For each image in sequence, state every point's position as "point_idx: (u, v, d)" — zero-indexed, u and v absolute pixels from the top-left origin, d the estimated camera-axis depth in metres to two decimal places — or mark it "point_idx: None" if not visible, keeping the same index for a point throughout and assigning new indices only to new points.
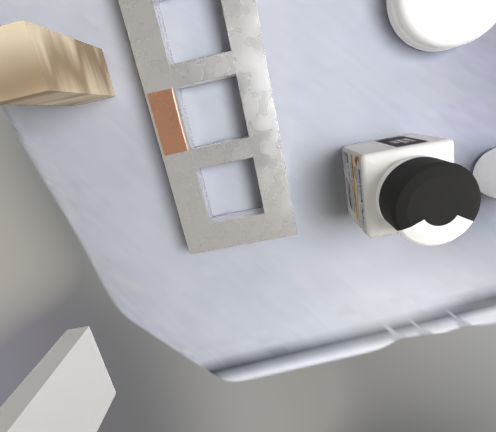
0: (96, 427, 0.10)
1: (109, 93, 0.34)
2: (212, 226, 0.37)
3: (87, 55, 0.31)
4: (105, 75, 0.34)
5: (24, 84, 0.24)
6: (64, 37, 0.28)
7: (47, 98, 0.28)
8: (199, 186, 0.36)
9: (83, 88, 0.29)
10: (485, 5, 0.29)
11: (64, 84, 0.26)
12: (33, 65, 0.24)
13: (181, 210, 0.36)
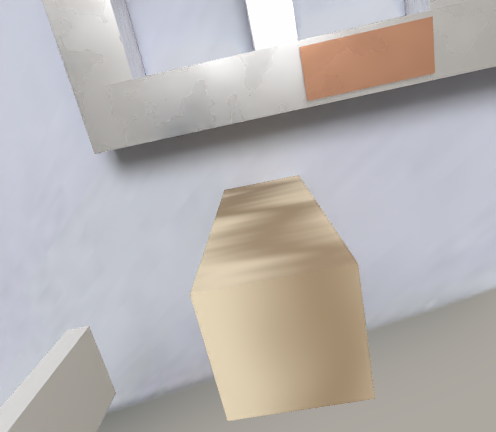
0: (95, 428, 0.10)
1: (298, 180, 0.19)
2: None
3: (239, 203, 0.17)
4: (267, 185, 0.19)
5: (338, 318, 0.09)
6: (214, 229, 0.14)
7: None
8: None
9: (309, 207, 0.14)
10: None
11: (318, 234, 0.11)
12: (294, 289, 0.09)
13: None
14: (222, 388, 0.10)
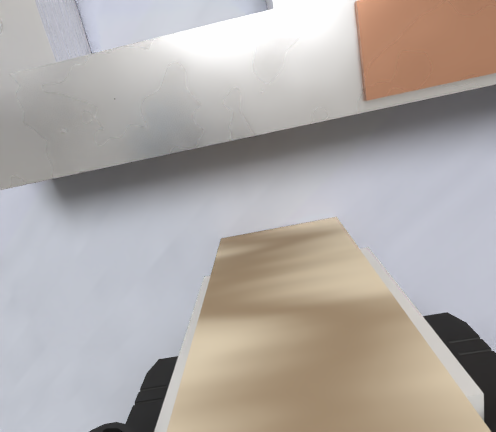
0: None
1: (339, 231, 0.12)
2: None
3: (244, 279, 0.10)
4: (288, 236, 0.12)
5: None
6: (192, 365, 0.07)
7: None
8: None
9: (388, 321, 0.07)
10: None
11: None
12: None
13: None
14: None
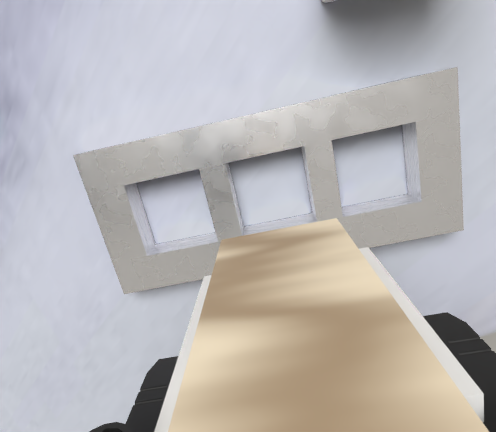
0: None
1: (340, 232, 0.12)
2: (426, 197, 0.26)
3: (244, 280, 0.10)
4: (288, 237, 0.12)
5: None
6: (192, 367, 0.07)
7: None
8: (366, 213, 0.27)
9: (388, 323, 0.07)
10: None
11: None
12: None
13: (397, 237, 0.27)
14: None
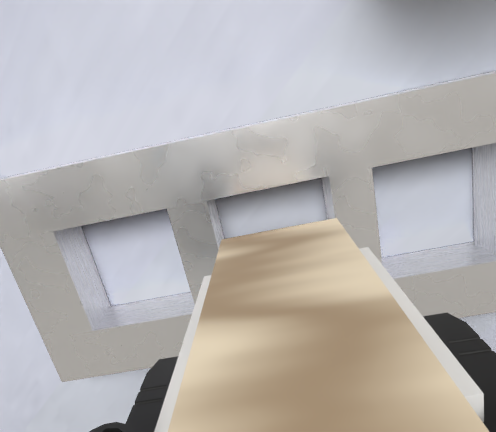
0: None
1: (340, 232, 0.12)
2: None
3: (244, 280, 0.10)
4: (288, 237, 0.12)
5: None
6: (192, 367, 0.07)
7: None
8: (419, 275, 0.18)
9: (388, 323, 0.07)
10: None
11: None
12: None
13: (463, 310, 0.18)
14: None
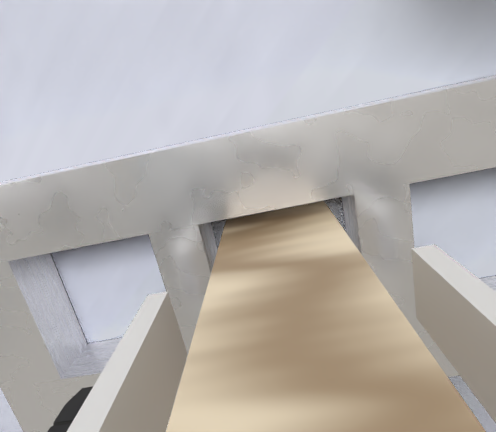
0: (177, 381, 0.12)
1: (325, 211, 0.14)
2: None
3: (246, 246, 0.12)
4: (282, 216, 0.15)
5: None
6: (208, 300, 0.09)
7: None
8: None
9: (353, 267, 0.09)
10: None
11: (386, 340, 0.06)
12: None
13: None
14: None
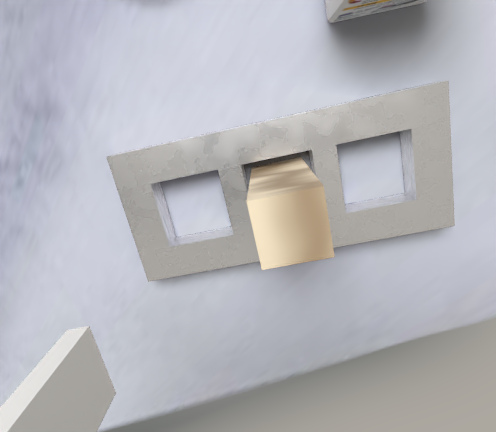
0: (95, 428, 0.10)
1: (300, 159, 0.30)
2: (420, 196, 0.29)
3: (263, 171, 0.28)
4: (280, 163, 0.30)
5: (315, 213, 0.20)
6: (251, 182, 0.25)
7: None
8: (366, 209, 0.30)
9: (304, 170, 0.25)
10: None
11: (307, 179, 0.22)
12: (294, 199, 0.20)
13: (394, 232, 0.30)
14: (259, 251, 0.21)
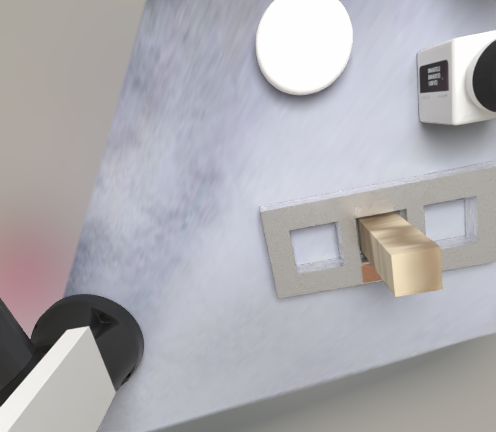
0: (96, 428, 0.10)
1: (395, 213, 0.42)
2: (480, 240, 0.41)
3: (374, 224, 0.40)
4: (379, 215, 0.42)
5: (433, 262, 0.32)
6: (375, 236, 0.37)
7: None
8: (441, 249, 0.42)
9: (411, 228, 0.37)
10: (324, 13, 0.34)
11: (421, 238, 0.34)
12: (421, 254, 0.32)
13: (460, 264, 0.42)
14: (395, 285, 0.33)
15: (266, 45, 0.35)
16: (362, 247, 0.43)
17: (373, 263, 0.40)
